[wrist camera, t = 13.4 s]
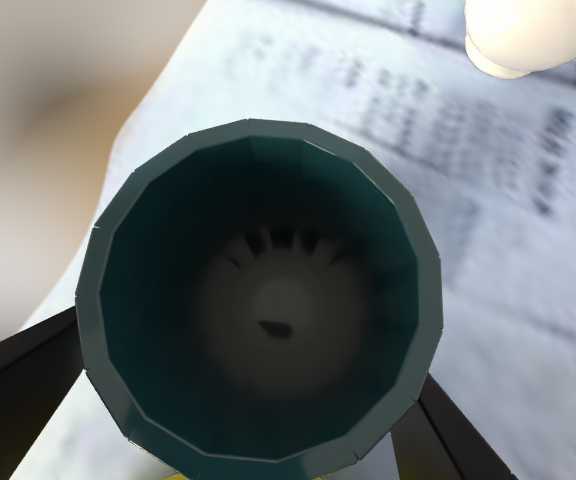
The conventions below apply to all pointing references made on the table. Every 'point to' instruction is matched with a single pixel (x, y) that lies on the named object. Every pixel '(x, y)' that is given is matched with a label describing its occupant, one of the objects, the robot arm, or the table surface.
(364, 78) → the table surface
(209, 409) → the pen cup
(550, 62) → the flower vase
